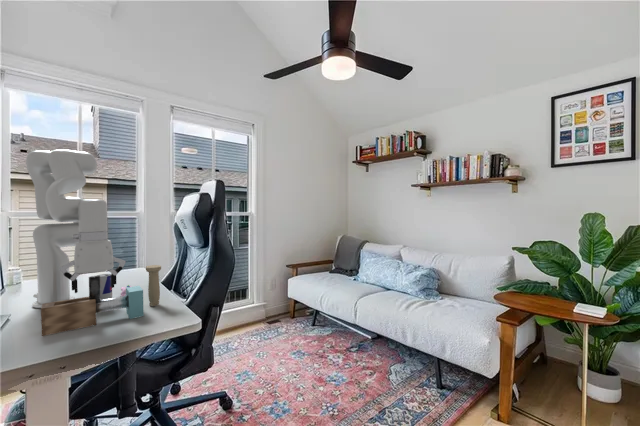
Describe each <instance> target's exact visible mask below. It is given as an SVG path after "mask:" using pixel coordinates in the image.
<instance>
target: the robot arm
mask: <svg viewBox="0 0 640 426" xmlns="http://www.w3.org/2000/svg"><path fill="white" fill-rule="evenodd" d="M25 165H26V170H27V172H28V175H29V177H30V179H31V181H32V183H33V187H34V195H35V199H34V200H35V209H36V215H37V217H38V218H39V219H40V220H42V221H55V222H57V223H45V224H40V225H38V226H37V227H35V228H34V229H33V233H32V238H33V242H34V247H35V252H36V275H37V292H36V293H35V294H33V298H34V299H36V301H35V302H34V301H33V303H32V307H33V308H36V309H41V307H42V304H43V303H50V302H56V301H63V300H69V299H76V297H75V296H74V295H71V291H74V294H77V293H78V291H79V290H78V277H79V276H80V275H85V274H95V273H96V274H97V273H103V272H109V273H110V274H111V287H112V289H114V288H115V285H117V275H118V274H119V273H120V272H122V270H123V268H124V266H125V265H126V262H127V261H126V260H124V259H121V258H119V257H115V256H114V250H113V245H112V240H110V239H109V236H108V235H109V233H108V204H107V201H106V200H104V199H97V198H95V199H93V198H92V199H91V198H90V199H88V198H87V199H83V198H81V197H76V196H65V195H66V194H70V193H73V192H76V191H78V190H79V191H80V189H82V188H84V186H86V184H87V178H86V176H87V175H93V174H94V173H95V172H96V171H97V168H98V162H97V159H96V157H95V156H94V155H93V154H92V153H90V152H88V151H87V152H86V151H79V150H78V151H77V150H71V149H64V148H63V149H62V148H61V149H53V150H51V151H50V150H32V151H30V152H29V153H28V154H27V155H26V158H25ZM65 247H66V248H67V247H74V255H73V257H74V259H72V260H71V261H70V258H69V255H68V254H67V253H66V252H64V250H62V249H61V248H65ZM114 263H118V266H117V267H116V268H115V269H114V265H115V264H114ZM71 267H73V269H74V272H73V274H72V273H70V268H71ZM70 281H71V283H70ZM70 284H71V285H70ZM70 286H71V287H70ZM70 289H71V290H70Z"/></svg>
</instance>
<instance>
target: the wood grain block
mask: <svg viewBox="0 0 640 426" xmlns="http://www.w3.org/2000/svg"><path fill="white" fill-rule="evenodd" d="M40 314H41V315H40V317H41V319H40V321H41V322H40V323H41V337H44V336H49V335H53V334H58V333H63V332H68V331H74V330H79V329H84V328H88V326H89V327H92V326H93V325H94V326H97V313H96V299H92V300H89V296H84V297H83V296H82V297H75V299H69V300H63V301H56V302H50V303H43V304H42V307H41V308H40ZM83 327H84V328H83ZM78 328H79V329H78Z"/></svg>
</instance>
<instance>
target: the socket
mask: <svg viewBox="0 0 640 426" xmlns="http://www.w3.org/2000/svg"><path fill="white" fill-rule="evenodd" d="M126 287H127V286H126ZM127 295H128V296H129V307H127V308H125V310H126V315H127V316H128V319H129V320H131V319H135V318H140V317H144V315H145V314H144V311H145V310H144V289H143V288H142V287H141V286H140V285H134V286H132V287H127V288H126V296H127Z"/></svg>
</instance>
